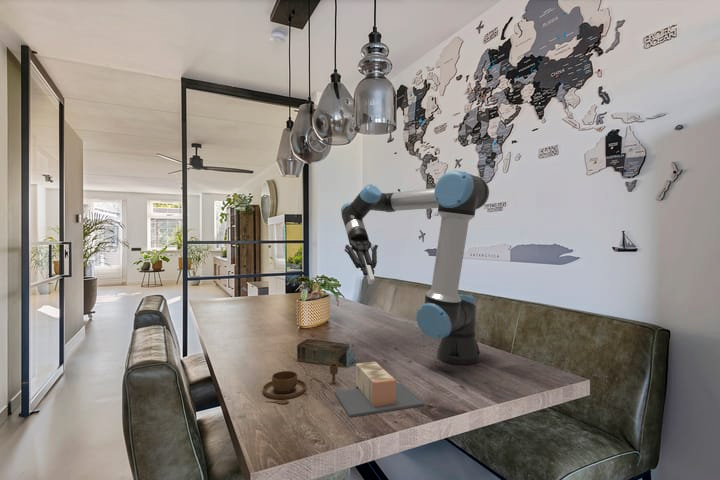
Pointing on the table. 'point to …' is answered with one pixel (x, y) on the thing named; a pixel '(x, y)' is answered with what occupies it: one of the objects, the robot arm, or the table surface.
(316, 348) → the beverage carton
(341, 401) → the rubber mat
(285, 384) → the place setting
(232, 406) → the table surface
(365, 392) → the birch block
